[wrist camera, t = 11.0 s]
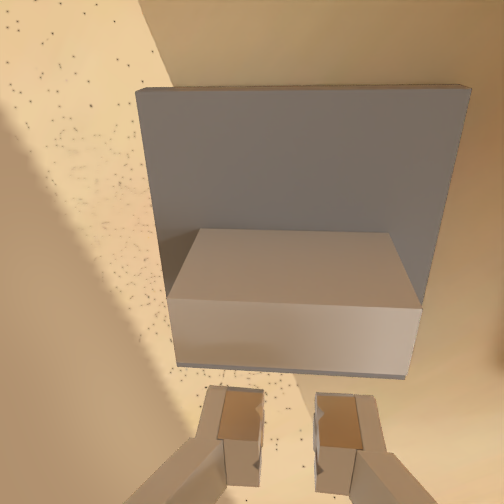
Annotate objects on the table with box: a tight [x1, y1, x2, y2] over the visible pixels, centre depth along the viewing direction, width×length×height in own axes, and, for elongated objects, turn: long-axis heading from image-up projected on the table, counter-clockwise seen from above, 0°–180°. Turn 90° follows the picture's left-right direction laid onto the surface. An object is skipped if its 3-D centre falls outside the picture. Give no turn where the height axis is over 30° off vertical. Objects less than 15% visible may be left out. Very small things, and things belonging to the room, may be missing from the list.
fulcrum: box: [135, 84, 472, 380], centre depth 16 cm, size 12×14×6 cm
